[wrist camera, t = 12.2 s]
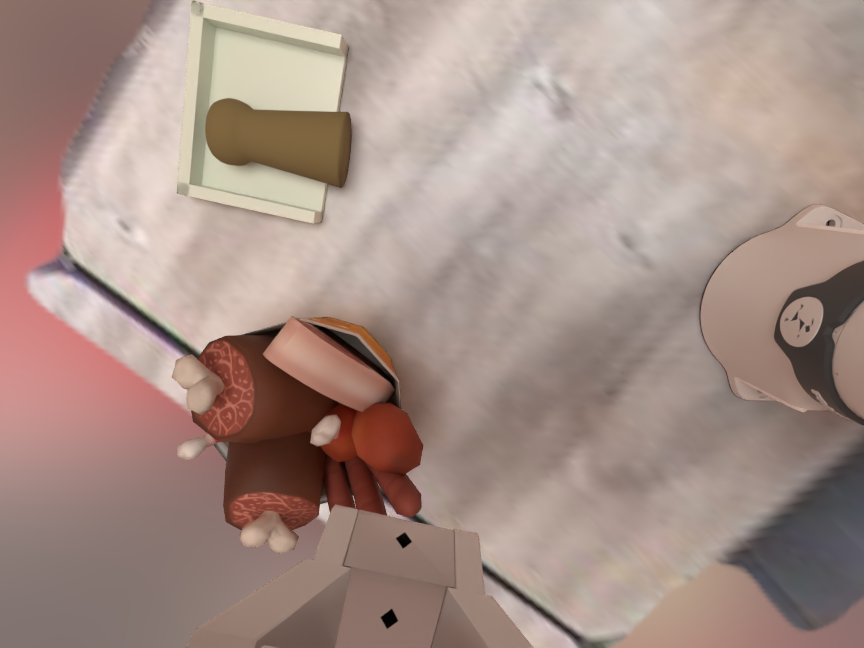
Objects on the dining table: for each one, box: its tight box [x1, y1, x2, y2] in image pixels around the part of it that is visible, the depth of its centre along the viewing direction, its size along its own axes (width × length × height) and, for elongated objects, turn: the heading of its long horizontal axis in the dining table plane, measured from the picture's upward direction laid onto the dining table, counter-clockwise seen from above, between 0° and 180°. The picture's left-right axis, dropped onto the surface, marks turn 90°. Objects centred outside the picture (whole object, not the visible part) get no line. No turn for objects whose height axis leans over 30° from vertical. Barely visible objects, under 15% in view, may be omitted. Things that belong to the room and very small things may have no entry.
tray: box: [177, 1, 349, 224], centre depth 41 cm, size 12×15×3 cm
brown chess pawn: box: [205, 98, 351, 188], centre depth 40 cm, size 6×6×11 cm
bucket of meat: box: [172, 317, 423, 554], centre depth 39 cm, size 20×16×20 cm
